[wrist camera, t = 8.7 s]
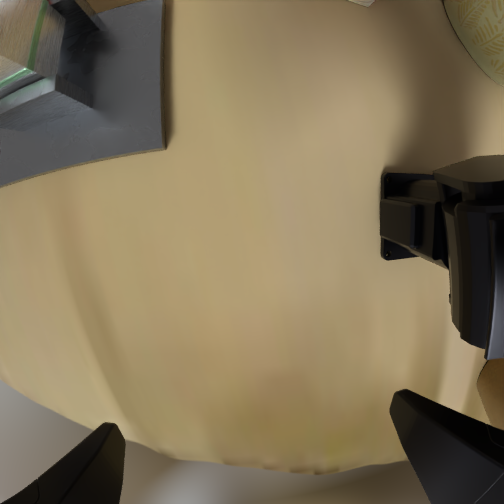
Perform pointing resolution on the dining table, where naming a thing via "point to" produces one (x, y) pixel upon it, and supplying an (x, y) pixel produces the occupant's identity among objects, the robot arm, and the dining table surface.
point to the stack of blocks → (363, 2)
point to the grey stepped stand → (90, 94)
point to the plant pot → (493, 391)
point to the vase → (481, 32)
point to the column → (28, 43)
